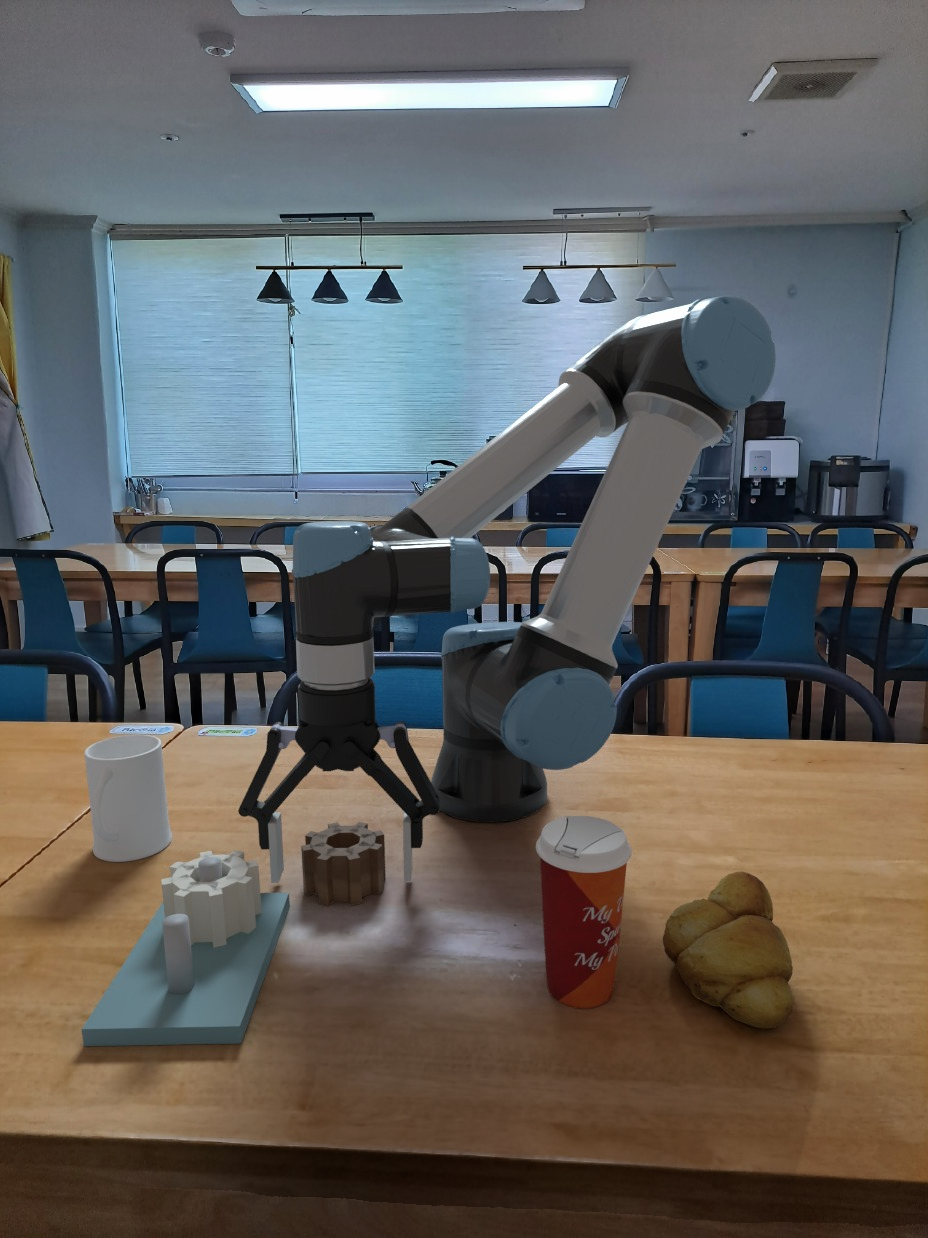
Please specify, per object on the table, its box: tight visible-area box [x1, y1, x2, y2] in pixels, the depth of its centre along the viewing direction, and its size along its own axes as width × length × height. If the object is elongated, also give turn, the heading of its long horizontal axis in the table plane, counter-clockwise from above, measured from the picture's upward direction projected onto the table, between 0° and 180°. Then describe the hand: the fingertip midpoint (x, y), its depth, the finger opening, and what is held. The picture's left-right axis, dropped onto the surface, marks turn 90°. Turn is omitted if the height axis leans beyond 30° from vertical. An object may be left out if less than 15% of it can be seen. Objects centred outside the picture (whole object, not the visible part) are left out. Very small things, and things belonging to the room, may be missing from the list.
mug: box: [83, 734, 173, 863], centre depth 91 cm, size 12×8×12 cm
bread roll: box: [662, 871, 795, 1030], centre depth 67 cm, size 13×10×8 cm
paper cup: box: [535, 815, 632, 1010], centre depth 67 cm, size 8×8×14 cm
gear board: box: [81, 857, 291, 1047], centre depth 70 cm, size 12×19×8 cm, turn 1°
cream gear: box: [160, 849, 262, 947], centre depth 75 cm, size 8×8×5 cm
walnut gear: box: [300, 821, 387, 907], centre depth 84 cm, size 8×8×5 cm
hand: (343, 875), depth 84 cm, fingers open, 13 cm apart
